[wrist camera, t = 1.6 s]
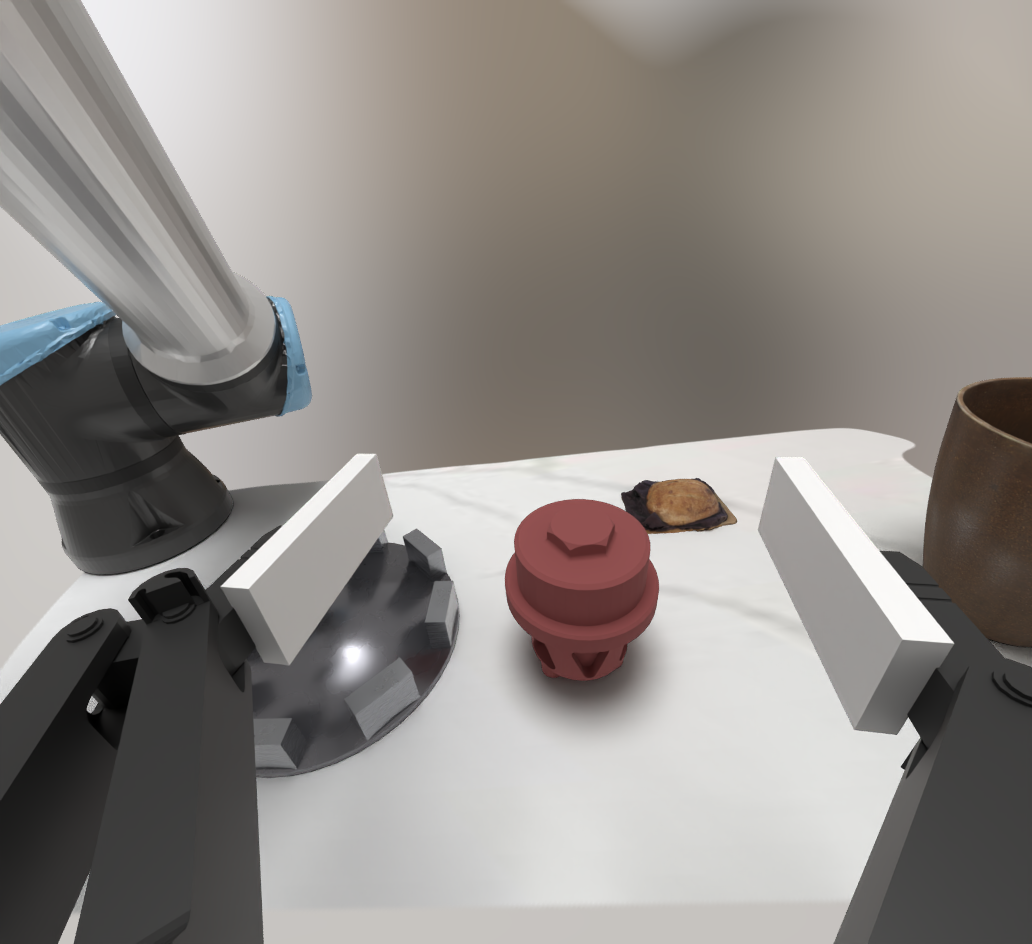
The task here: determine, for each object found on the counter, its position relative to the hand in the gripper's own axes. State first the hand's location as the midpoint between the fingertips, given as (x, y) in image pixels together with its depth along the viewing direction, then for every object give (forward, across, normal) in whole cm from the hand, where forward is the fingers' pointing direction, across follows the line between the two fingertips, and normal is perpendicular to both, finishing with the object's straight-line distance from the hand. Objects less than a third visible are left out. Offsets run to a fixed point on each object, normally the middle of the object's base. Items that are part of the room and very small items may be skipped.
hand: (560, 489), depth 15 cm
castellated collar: (+8, -20, -20) cm, 30 cm away
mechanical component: (+10, 0, -21) cm, 23 cm away
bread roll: (+28, +9, -21) cm, 36 cm away
